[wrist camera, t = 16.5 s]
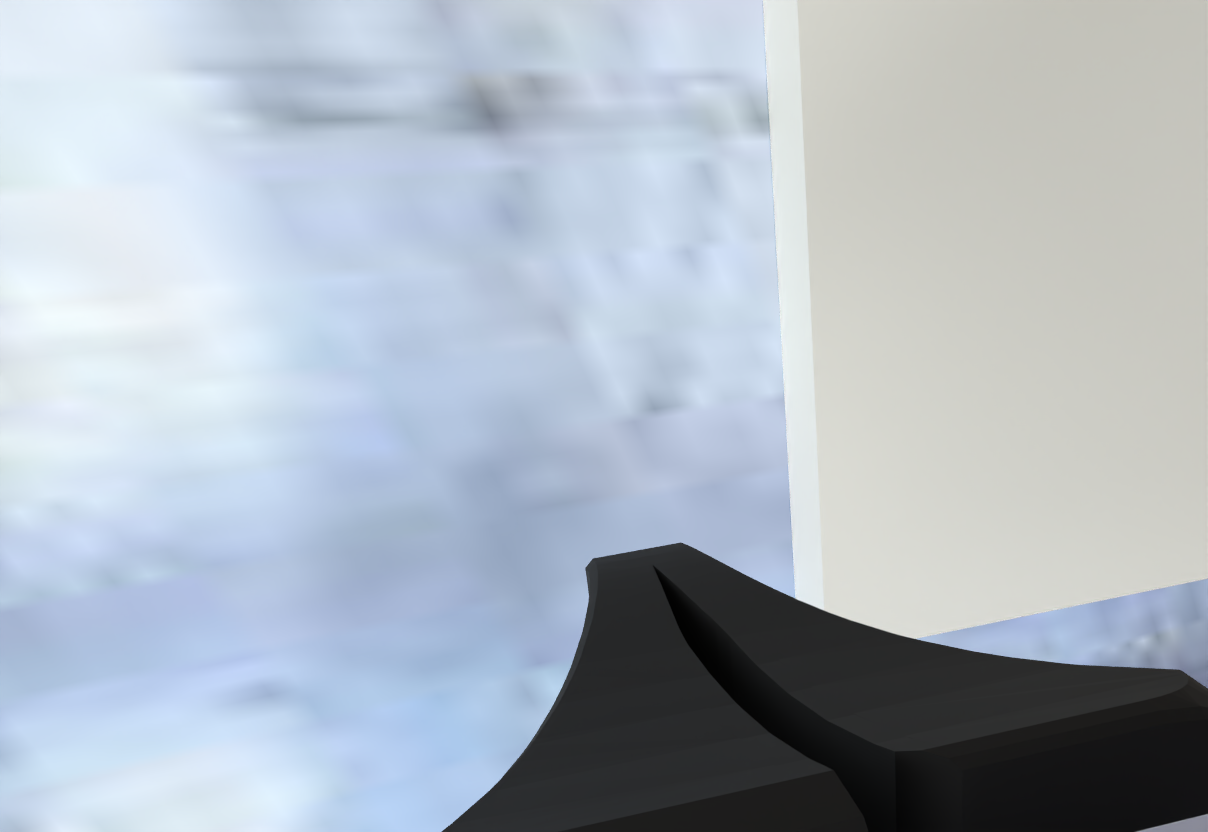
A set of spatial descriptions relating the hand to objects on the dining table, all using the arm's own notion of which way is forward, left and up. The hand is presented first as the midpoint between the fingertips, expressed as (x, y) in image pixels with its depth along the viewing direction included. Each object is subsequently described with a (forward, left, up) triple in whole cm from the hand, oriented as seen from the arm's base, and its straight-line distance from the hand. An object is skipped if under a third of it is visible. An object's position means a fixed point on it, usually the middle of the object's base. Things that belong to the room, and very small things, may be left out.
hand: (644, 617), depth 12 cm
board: (+1, -13, -10) cm, 17 cm away
